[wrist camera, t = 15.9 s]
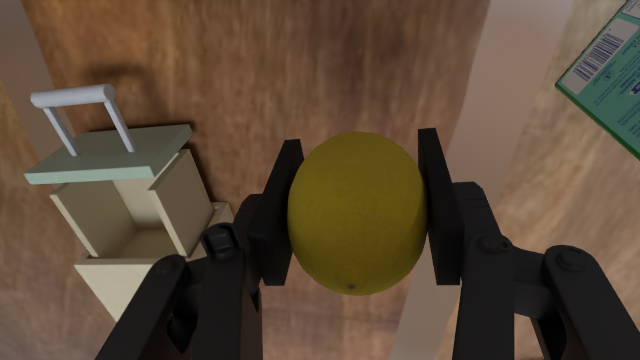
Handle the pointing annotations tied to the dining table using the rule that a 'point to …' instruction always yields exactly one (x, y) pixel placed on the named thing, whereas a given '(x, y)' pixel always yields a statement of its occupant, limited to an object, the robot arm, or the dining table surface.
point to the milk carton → (611, 78)
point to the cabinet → (131, 270)
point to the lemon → (358, 214)
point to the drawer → (124, 182)
